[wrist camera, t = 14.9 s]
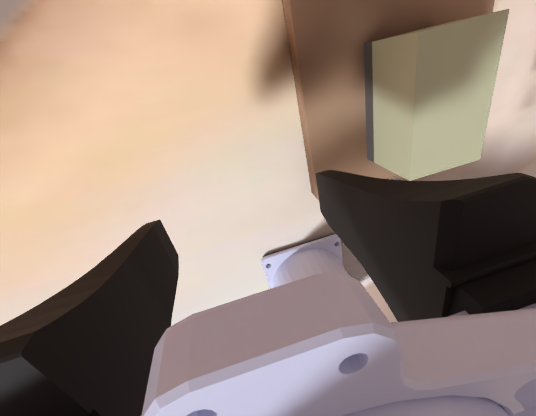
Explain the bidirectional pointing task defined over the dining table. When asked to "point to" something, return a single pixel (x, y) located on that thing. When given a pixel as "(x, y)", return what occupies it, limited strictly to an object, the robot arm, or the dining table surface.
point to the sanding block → (431, 94)
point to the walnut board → (349, 69)
